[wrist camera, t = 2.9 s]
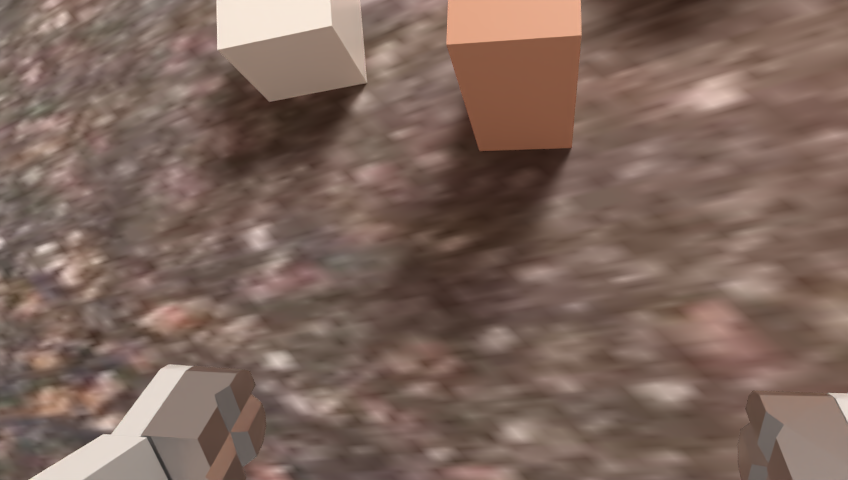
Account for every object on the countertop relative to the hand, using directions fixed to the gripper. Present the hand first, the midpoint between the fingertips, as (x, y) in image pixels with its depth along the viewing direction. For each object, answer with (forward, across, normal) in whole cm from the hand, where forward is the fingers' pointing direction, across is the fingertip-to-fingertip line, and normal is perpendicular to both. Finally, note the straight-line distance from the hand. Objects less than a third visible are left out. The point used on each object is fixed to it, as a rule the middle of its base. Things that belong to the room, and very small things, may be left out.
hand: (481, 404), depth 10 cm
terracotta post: (+20, 0, +2) cm, 20 cm away
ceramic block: (+22, +10, -1) cm, 24 cm away
